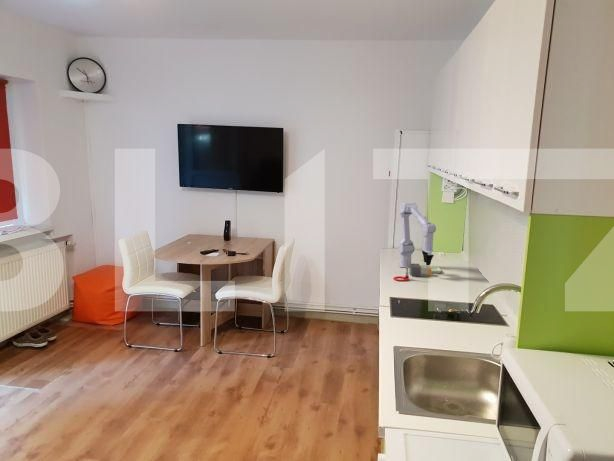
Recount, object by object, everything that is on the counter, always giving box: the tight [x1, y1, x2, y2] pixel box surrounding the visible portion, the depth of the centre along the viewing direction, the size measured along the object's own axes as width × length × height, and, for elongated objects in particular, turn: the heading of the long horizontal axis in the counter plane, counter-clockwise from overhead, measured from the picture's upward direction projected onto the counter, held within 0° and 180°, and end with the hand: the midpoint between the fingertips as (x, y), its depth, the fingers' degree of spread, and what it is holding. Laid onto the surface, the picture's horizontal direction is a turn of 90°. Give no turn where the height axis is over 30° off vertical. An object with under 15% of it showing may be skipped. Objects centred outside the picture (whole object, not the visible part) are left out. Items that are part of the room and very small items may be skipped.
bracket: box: [411, 262, 422, 278], centre depth 278 cm, size 9×5×6 cm, turn 175°
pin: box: [408, 266, 432, 277], centre depth 278 cm, size 4×13×4 cm, turn 85°
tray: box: [420, 265, 442, 275], centre depth 287 cm, size 10×18×2 cm, turn 85°
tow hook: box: [392, 259, 410, 282], centre depth 267 cm, size 8×13×9 cm
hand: (427, 263), depth 277 cm, fingers open, 7 cm apart
